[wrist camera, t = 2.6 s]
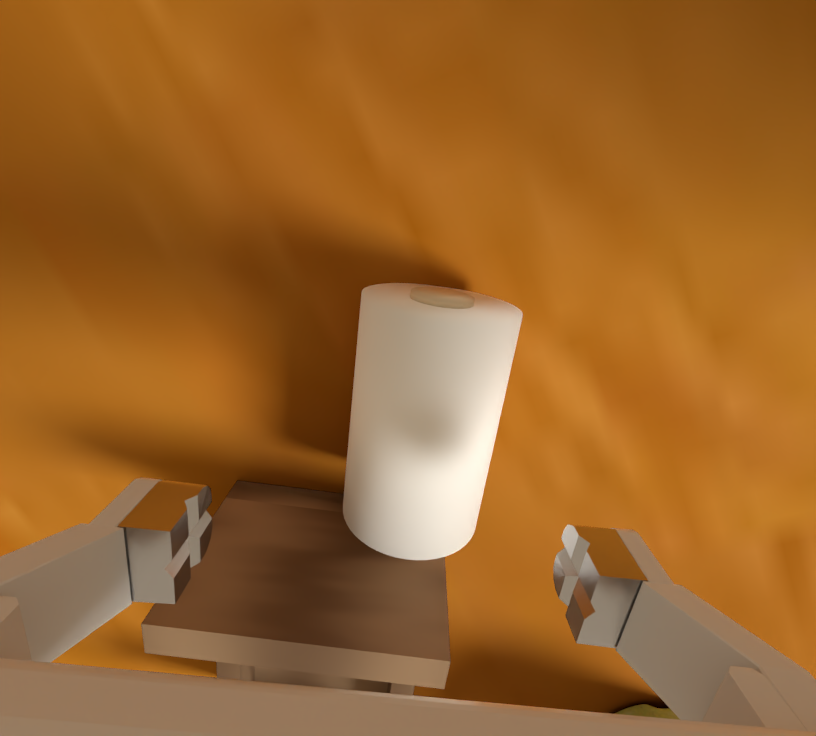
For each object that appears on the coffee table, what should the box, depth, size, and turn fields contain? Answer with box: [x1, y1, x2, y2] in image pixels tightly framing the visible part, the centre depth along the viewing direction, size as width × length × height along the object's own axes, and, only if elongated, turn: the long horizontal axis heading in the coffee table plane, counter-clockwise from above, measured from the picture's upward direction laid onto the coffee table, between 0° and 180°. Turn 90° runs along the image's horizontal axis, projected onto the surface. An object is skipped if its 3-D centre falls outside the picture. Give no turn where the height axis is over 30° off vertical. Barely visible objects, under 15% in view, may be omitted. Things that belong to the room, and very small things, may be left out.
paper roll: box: [343, 283, 523, 560], centre depth 15 cm, size 8×5×5 cm, turn 173°
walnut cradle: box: [141, 480, 451, 695], centre depth 18 cm, size 9×13×7 cm
